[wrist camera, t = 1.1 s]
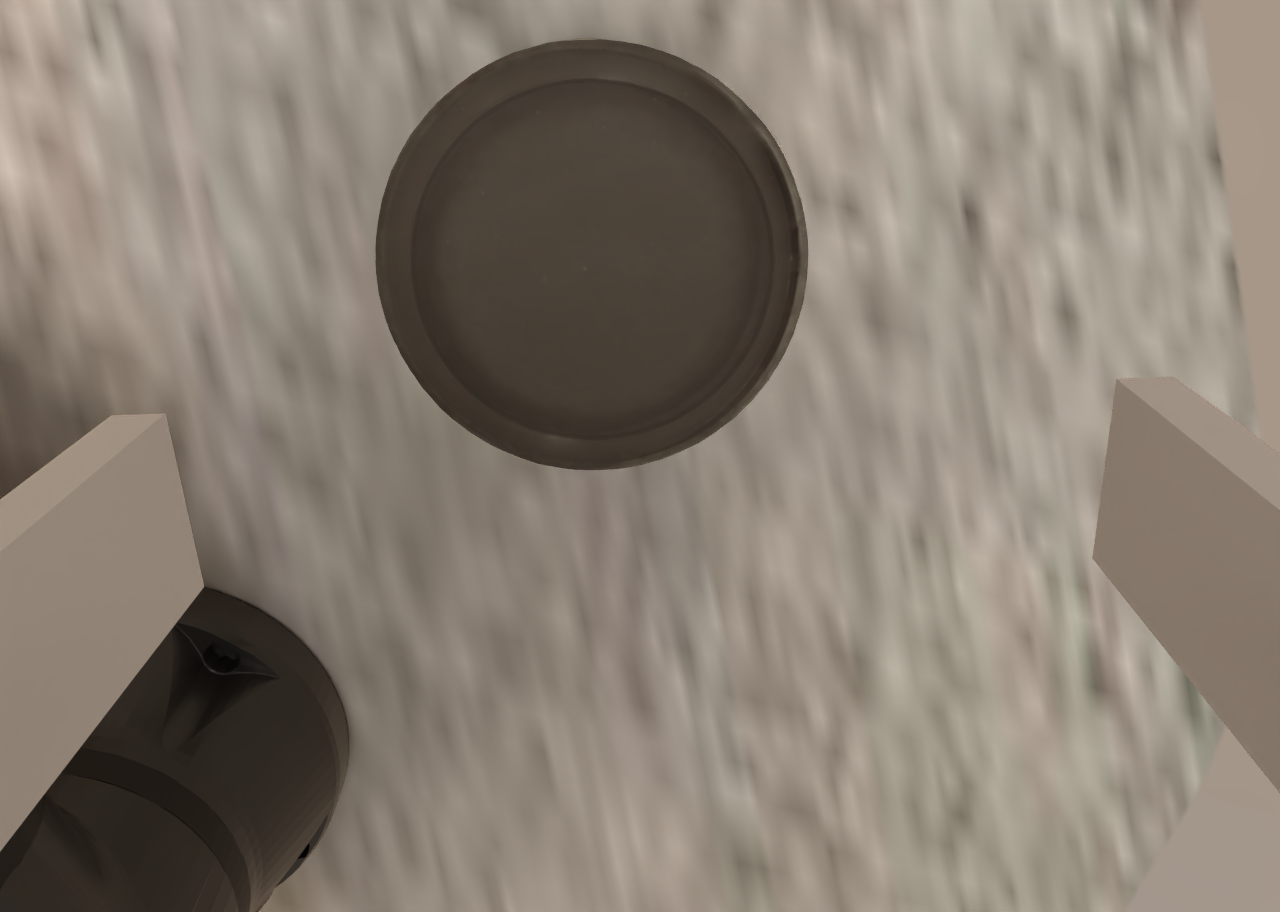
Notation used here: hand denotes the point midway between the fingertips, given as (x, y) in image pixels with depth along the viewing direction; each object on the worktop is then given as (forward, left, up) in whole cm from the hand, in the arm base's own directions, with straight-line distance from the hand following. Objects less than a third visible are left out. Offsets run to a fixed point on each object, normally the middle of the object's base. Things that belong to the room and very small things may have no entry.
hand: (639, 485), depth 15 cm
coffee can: (0, +1, -26) cm, 26 cm away
